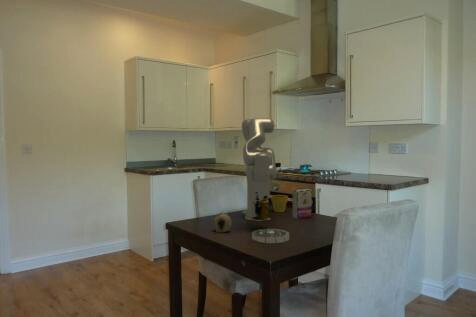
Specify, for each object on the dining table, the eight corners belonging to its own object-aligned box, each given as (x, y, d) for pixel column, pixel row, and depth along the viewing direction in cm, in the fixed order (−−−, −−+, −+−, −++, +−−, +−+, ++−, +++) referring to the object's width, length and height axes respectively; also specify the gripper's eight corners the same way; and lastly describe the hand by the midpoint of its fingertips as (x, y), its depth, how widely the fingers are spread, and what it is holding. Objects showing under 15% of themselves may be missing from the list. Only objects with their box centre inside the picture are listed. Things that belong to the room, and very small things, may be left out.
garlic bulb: (215, 235, 190) (210, 215, 192) (230, 230, 193) (225, 212, 195) (219, 233, 182) (214, 213, 184) (235, 229, 185) (230, 209, 186)
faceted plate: (245, 239, 173) (245, 234, 173) (264, 232, 187) (264, 227, 187) (277, 245, 163) (277, 239, 163) (295, 237, 177) (295, 232, 177)
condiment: (271, 219, 192) (271, 195, 190) (258, 221, 187) (258, 197, 186) (262, 216, 198) (263, 193, 196) (249, 218, 193) (249, 195, 192)
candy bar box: (306, 215, 226) (306, 188, 226) (312, 217, 222) (312, 189, 221) (291, 217, 221) (292, 190, 220) (297, 219, 217) (297, 190, 216)
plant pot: (277, 213, 233) (277, 197, 233) (268, 210, 242) (268, 195, 242) (290, 212, 238) (290, 196, 238) (281, 209, 247) (281, 194, 247)
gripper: (264, 175, 200) (263, 208, 202) (246, 179, 186) (246, 215, 188) (276, 176, 196) (276, 210, 198) (259, 180, 182) (258, 217, 183)
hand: (261, 212), depth 193 cm, fingers closed on condiment, 6 cm apart
